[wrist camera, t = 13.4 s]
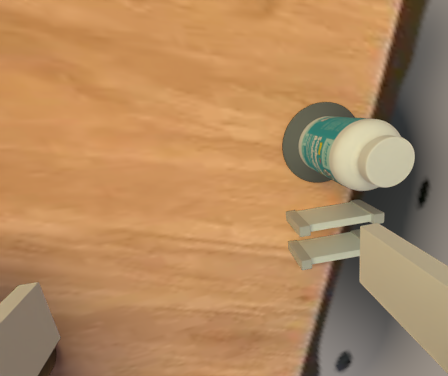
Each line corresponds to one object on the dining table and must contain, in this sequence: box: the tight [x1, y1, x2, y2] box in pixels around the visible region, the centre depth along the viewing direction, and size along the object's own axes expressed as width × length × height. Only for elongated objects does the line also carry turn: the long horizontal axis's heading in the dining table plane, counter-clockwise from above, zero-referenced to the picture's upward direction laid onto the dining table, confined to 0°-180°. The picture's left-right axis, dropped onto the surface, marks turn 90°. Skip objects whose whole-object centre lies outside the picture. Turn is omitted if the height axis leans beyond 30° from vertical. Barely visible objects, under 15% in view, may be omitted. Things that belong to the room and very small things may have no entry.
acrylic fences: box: [286, 199, 384, 270], centre depth 38 cm, size 11×6×6 cm, turn 98°
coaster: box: [282, 102, 355, 182], centre depth 37 cm, size 11×11×1 cm
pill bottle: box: [299, 116, 415, 191], centre depth 30 cm, size 8×7×14 cm
